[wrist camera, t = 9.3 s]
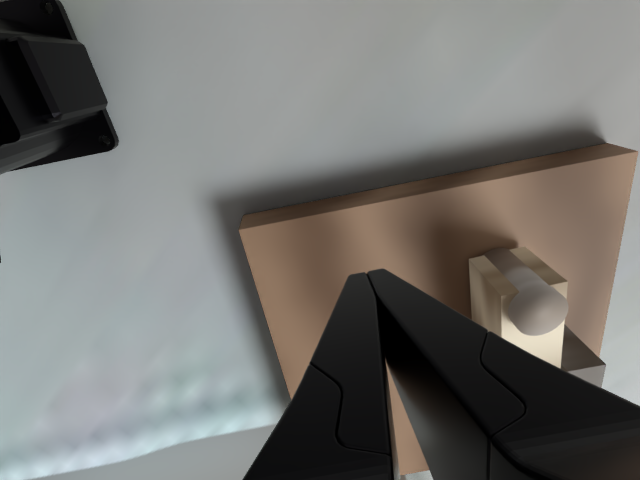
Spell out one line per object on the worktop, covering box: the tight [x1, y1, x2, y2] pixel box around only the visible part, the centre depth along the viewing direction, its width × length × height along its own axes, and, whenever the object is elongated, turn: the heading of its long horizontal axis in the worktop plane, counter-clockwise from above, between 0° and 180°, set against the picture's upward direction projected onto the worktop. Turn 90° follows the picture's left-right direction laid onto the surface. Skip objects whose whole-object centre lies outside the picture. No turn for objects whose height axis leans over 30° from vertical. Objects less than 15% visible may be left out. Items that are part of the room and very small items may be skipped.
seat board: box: [239, 143, 638, 475], centre depth 23 cm, size 20×22×6 cm
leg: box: [469, 246, 568, 369], centre depth 21 cm, size 13×3×4 cm, turn 13°
